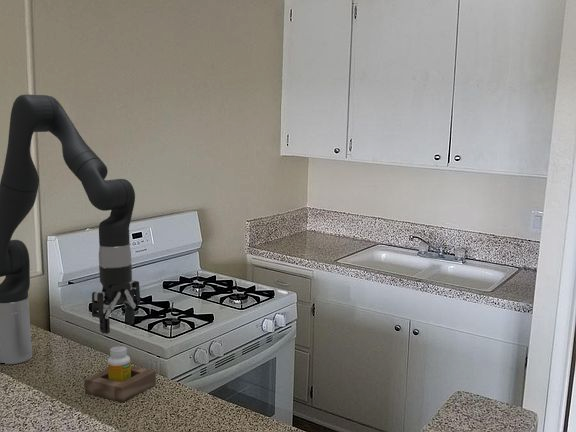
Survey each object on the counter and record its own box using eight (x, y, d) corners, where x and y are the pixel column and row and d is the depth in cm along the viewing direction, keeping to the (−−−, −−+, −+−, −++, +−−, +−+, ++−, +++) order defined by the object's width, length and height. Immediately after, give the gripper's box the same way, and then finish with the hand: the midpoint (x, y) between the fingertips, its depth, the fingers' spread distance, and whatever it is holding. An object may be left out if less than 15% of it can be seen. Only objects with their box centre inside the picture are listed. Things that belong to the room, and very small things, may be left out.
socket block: (85, 393, 162) (84, 379, 161) (119, 376, 172) (118, 363, 172) (123, 402, 156) (122, 388, 156) (155, 384, 167) (155, 370, 166)
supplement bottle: (125, 391, 161) (124, 353, 159) (105, 390, 162) (103, 351, 160) (135, 383, 166) (133, 345, 165) (114, 381, 167) (113, 344, 166)
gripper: (123, 255, 167) (126, 318, 170) (81, 267, 155) (84, 334, 157) (147, 258, 164) (149, 322, 166) (106, 270, 151) (108, 339, 154)
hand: (117, 328), depth 162 cm, fingers open, 8 cm apart
